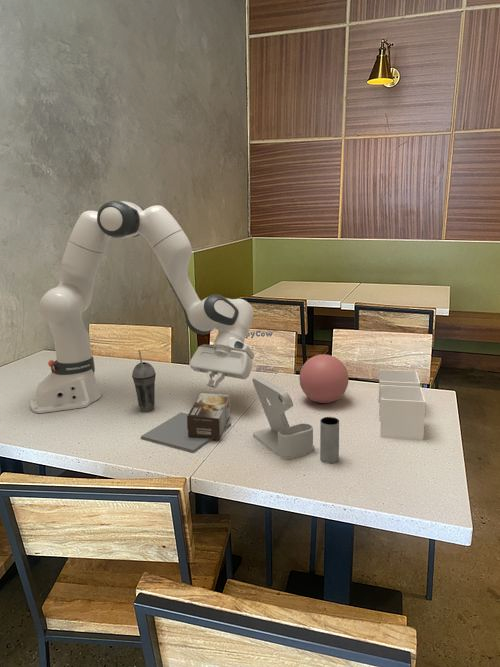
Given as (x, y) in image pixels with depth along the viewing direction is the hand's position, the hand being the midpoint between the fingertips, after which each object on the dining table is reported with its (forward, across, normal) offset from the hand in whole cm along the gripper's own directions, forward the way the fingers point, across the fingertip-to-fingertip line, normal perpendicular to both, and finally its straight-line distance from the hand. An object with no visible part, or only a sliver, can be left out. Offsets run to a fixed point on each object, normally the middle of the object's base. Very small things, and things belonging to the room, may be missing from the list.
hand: (211, 386), depth 147 cm
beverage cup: (+11, -21, +3) cm, 24 cm away
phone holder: (+12, +27, +2) cm, 29 cm away
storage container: (-8, +51, +22) cm, 56 cm away
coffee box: (+4, +1, +3) cm, 5 cm away
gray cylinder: (+13, +41, 0) cm, 43 cm away
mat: (+16, 0, -3) cm, 16 cm away
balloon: (-12, +26, +26) cm, 39 cm away
